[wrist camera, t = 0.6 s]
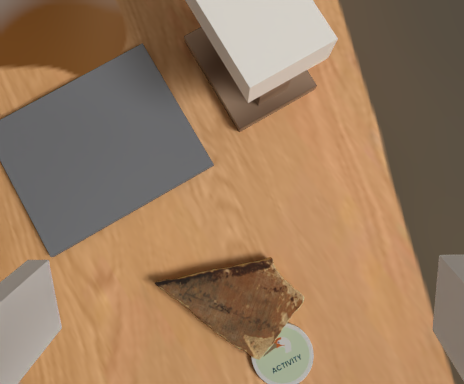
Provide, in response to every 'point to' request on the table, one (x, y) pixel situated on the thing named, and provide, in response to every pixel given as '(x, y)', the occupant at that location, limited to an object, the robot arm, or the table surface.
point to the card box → (265, 39)
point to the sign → (286, 358)
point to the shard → (239, 302)
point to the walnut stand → (232, 95)
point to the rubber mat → (98, 149)
